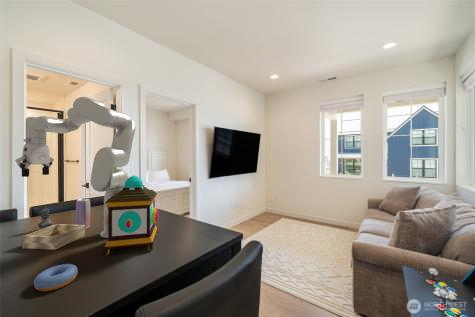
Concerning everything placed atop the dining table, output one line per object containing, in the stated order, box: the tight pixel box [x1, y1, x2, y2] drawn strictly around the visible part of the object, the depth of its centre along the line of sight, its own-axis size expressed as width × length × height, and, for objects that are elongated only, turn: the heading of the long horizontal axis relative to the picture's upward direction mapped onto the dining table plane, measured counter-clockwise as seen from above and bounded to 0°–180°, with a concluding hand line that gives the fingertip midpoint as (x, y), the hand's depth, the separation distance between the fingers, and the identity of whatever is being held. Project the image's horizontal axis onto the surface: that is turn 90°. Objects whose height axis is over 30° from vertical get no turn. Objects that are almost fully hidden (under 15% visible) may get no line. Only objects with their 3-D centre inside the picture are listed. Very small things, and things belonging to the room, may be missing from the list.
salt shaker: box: [37, 206, 54, 230], centre depth 103 cm, size 6×6×12 cm
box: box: [21, 223, 86, 250], centre depth 90 cm, size 15×15×5 cm
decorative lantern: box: [103, 175, 159, 256], centre depth 87 cm, size 20×20×30 cm
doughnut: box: [33, 263, 79, 292], centre depth 61 cm, size 10×10×5 cm
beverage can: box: [75, 197, 91, 230], centre depth 107 cm, size 6×6×15 cm
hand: (36, 175), depth 102 cm, fingers open, 9 cm apart
